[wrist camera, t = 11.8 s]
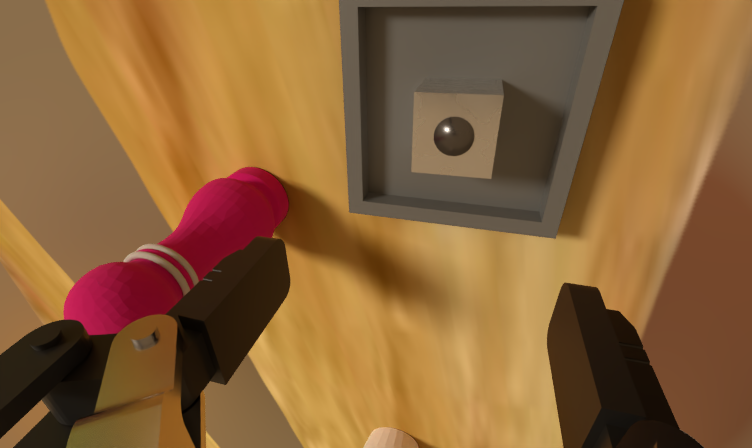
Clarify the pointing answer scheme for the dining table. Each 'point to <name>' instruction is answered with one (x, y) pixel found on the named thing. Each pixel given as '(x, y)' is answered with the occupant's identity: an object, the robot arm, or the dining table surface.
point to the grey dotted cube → (456, 126)
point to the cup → (390, 439)
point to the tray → (472, 61)
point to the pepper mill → (179, 253)
